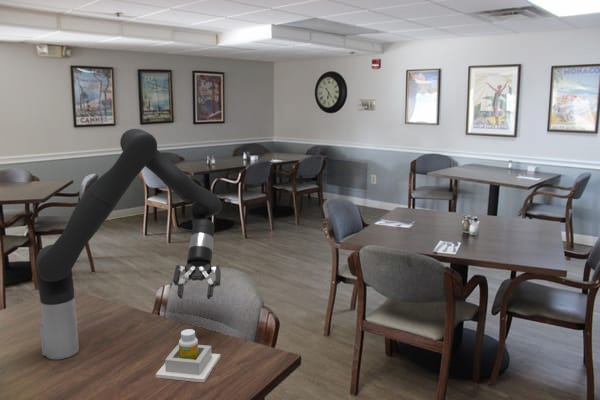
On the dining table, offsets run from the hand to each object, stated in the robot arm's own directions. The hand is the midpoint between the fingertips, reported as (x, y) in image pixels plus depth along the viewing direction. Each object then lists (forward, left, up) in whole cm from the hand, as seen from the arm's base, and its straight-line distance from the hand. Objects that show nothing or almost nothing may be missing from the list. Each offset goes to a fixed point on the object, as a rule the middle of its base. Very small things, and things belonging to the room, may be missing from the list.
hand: (194, 297), depth 153 cm
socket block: (+2, -10, -17) cm, 20 cm away
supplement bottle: (+2, -10, -16) cm, 19 cm away
